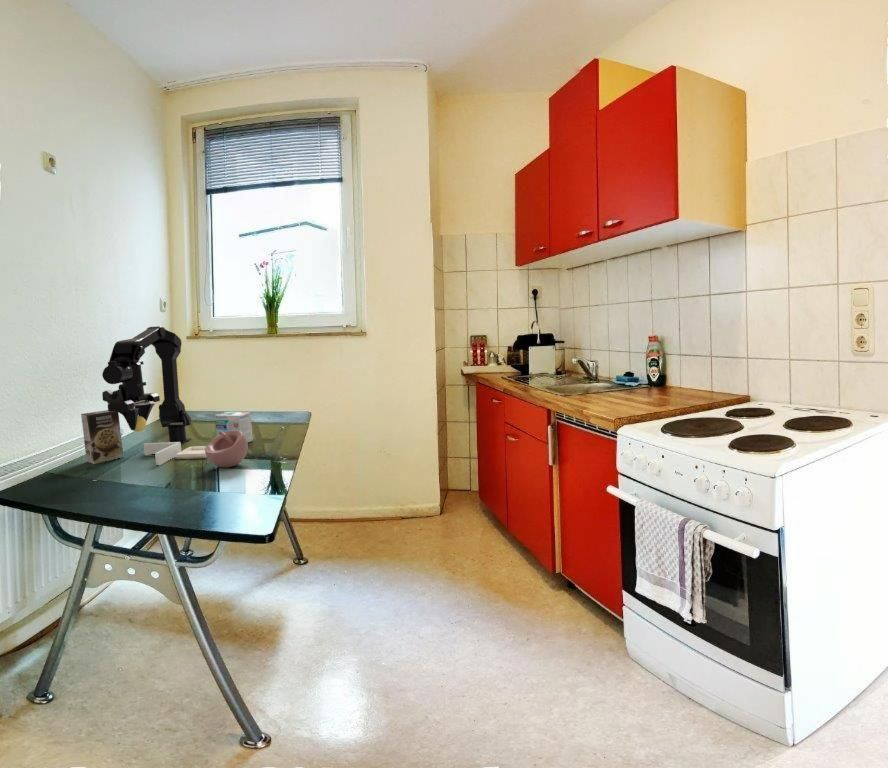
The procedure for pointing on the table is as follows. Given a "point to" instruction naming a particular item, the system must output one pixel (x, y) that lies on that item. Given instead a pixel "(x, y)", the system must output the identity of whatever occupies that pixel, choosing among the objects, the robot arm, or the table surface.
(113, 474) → the table surface
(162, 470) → the table surface
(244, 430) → the light bulb box
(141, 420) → the ball
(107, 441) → the brown upright rectangular box
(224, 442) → the pink slanted bowl
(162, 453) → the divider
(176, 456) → the tray
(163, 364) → the robot arm
